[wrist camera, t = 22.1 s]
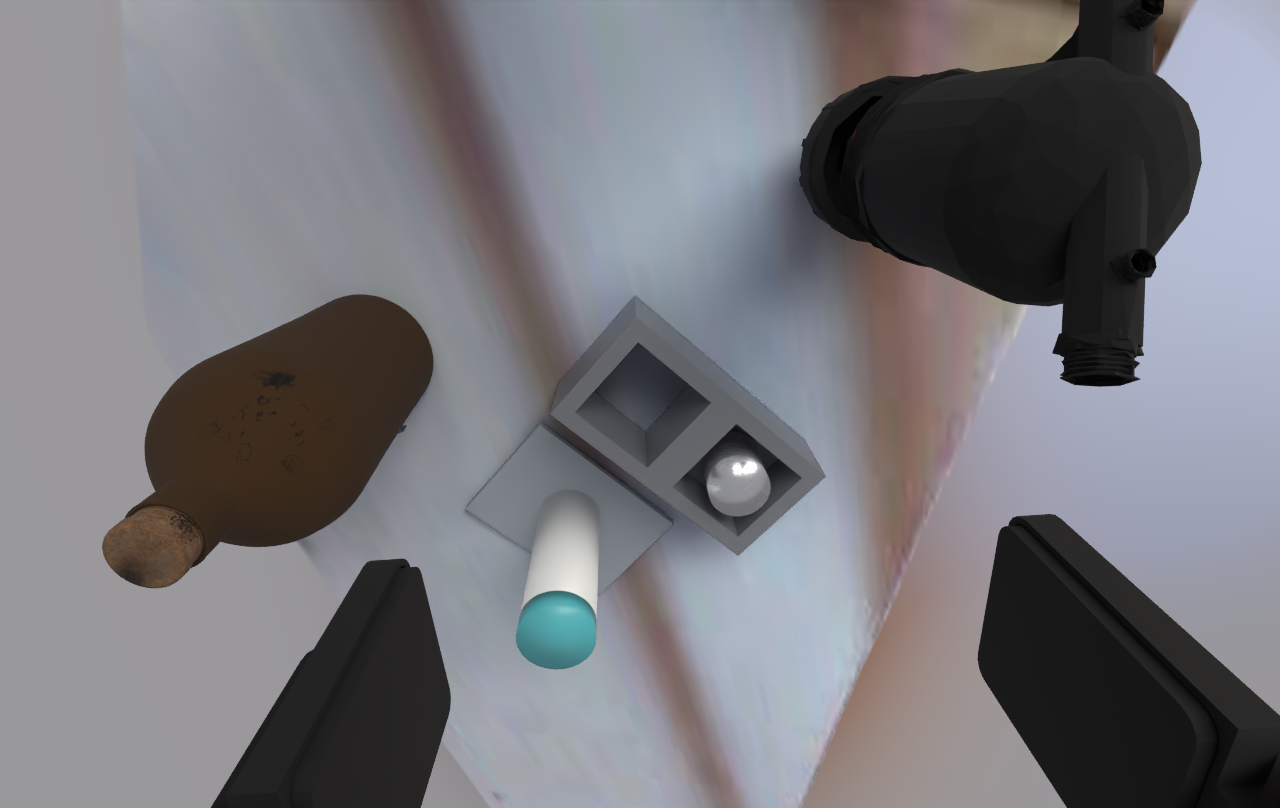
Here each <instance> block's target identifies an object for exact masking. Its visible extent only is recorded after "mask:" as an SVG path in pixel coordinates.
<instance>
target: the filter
mask: <svg viewBox="0 0 1280 808" xmlns="http://www.w3.org/2000/svg"><path fill="white" fill-rule="evenodd" d="M1163 7H1164V0H1080V11H1079V25H1078V27H1077V28H1076V30H1075V32H1074V34H1073V36H1072V37H1071V38H1070V39H1069V40H1068V41H1067V42H1066V43H1065V44H1064V45H1063V46H1062V47H1061V48H1060V49H1059V50H1058V51H1057V52H1056V53H1055V54H1054V55H1053V56H1052V57H1051V58H1050V59H1048V60H1047V61H1046V62H1043V63H1036V64H1029V65H1023V66H1016V67H1009V68H1002V69H996V70H989V71H982V72H974V71H969V70H965V69H960V68H958V69H951V70H948V71H944V72H940V73H937V74H930V75H921V76H919V77H904V76H887V77H884V78H881V79H878V80H875V81H872V82H869V83H866V84H863V85H860V86H859V87H857V88H855V89H853V90H851V91H849V92H846V93H844V94H842V95H840V96H839V97H838V98H836V99H835V100H834V101H833V102H831V103H828V104H827V105H826V106H825V107H824V108H823V109H822V112H821V114H820V115H819V116H818V118H817V119H816V121H815V122H814V123H813V125H812V127H811V129H810V131H809V133H808V135H807V138H806V139H803V142H802V147H803V151H802V158H801V164H800V170H801V176H800V178H799V181H800V185H801V187H803V191H804V193H805V195H806V197H807V199H808V201H809V203H810V205H811V207H812V209H813V212H814V213H815V214H816V215H817V216H818V217H819V218H820V219H822V220H824V221H825V222H826V223H827V224H829V225H830V226H831V227H832V228H833V229H835V230H836V231H838V232H840V233H842V234H843V235H845V236H847V237H849V238H850V239H854V240H857V241H863V242H868V243H871V244H872V245H873V246H874V247H877V248H880V249H882V250H883V251H884V252H886V253H889V254H891V255H893V256H895V257H896V258H898V259H900V260H903V261H906V262H909V263H912V264H915V265H918V266H924V267H930V268H933V269H935V270H938V271H940V272H942V273H944V274H946V275H949V276H951V277H953V278H955V279H957V280H960V281H962V282H964V283H966V284H968V285H971V286H973V287H975V288H977V289H979V290H982V291H984V292H986V293H988V294H990V295H993V296H995V297H997V298H999V299H1001V300H1004V301H1007V302H1011V303H1015V304H1024V305H1038V306H1053V305H1058V304H1063V317H1062V334H1059V335H1058V338H1057V341H1056V344H1055V347H1054V350H1053V354H1058V355H1060V356H1062V357H1064V360H1063V361H1062V363H1063V365H1064V372H1063V373H1062V374H1061V376H1063V377H1060V379H1062V380H1065V381H1067V382H1069V383H1071V384H1074V385H1083V386H1099V387H1100V386H1121V385H1124V384H1127V383H1130V382H1133V381H1137V380H1140V379H1139V378H1137V377H1135V376H1134V369H1135V368H1136V367H1137V366H1138V364H1140V363H1138V362H1137V361H1135V360H1134V358H1135V357H1136V356H1143V355H1144V354H1143V351H1142V349H1141V347H1143V327H1144V298H1145V278H1146V277H1147V278H1148V277H1151V276H1152V274H1153V272H1154V271H1155V269H1156V261H1155V256H1156V254H1157V253H1158V252H1159V251H1160V249H1161V248H1162V247H1163V245H1164V244H1165V243H1166V241H1167V240H1168V239H1169V237H1170V236H1171V235H1172V233H1173V232H1174V231H1175V230H1176V228H1177V227H1178V226H1179V225H1180V223H1181V222H1182V221H1183V220H1184V218H1185V217H1186V216H1187V214H1188V213H1189V209H1190V205H1191V201H1192V198H1193V194H1194V190H1195V186H1196V183H1197V179H1198V175H1199V171H1200V167H1201V164H1202V162H1201V151H1200V138H1199V130H1198V127H1197V125H1196V122H1195V120H1194V117H1193V115H1192V112H1191V109H1190V107H1189V104H1188V103H1187V102H1186V101H1185V100H1184V99H1183V98H1182V97H1181V96H1180V95H1179V94H1178V93H1177V92H1176V91H1175V90H1174V89H1173V88H1172V87H1171V86H1170V85H1169V84H1168V83H1166V81H1165V80H1163V79H1162V78H1160V77H1159V76H1157V75H1156V74H1154V73H1153V45H1154V22H1155V21H1156V20H1157V19H1158V17H1159V16H1160V15H1161V14H1163Z"/></svg>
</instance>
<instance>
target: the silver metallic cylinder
mask: <svg viewBox="0 0 1280 808" xmlns="http://www.w3.org/2000/svg"><path fill="white" fill-rule="evenodd" d="M701 463H702V468H703V472H704V477H705V481H706V486H707V490H708V495H709V499H710V501H711V503H712V504H713V506H714V507H715V508H716V509H717V510H718V511H720V512H722V513H724V514H726V515H730V516H745V515H749V514H751V513H753V512H755V511H757V510H758V509H760V508H761V507H762V506H763V505H764V504H765V502H766V501H767V499H768V497H769V495H770V489H771V486H770V480H769V478H768V475H767V473H766V470H765V468H764V465H763V463H762V460H761V458H760V455H759V453H758V450H757V448H756V446H755V444H754V442H753V441H752V440H751V439H750V438H749V437H748V436H747V435H745V434H743V433H740V432H736V431H729V432H728V433H727V434H726V435H725V436H724V437H723V438H722V439H721V440H720V441H719V442H718V443H716V444H715V445H714V446H713V447H712V448H711V449H710V450H709V451H708V452H707V453H706V454H705V455H704V456H703V457H702V458H701Z"/></svg>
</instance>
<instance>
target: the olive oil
mask: <svg viewBox="0 0 1280 808" xmlns="http://www.w3.org/2000/svg"><path fill="white" fill-rule="evenodd" d="M432 371H433V354H432V349H431V346H430V343H429V340H428V338H427V336H426V334H425V332H424V330H423V329H422V327H421V326H420V325H419V323H418V322H417V321H416V320H415V319H414V318H413V317H412V316H411V315H410V314H409V313H408V312H407V311H405V310H404V309H403V308H401V307H400V306H398V305H396V304H394V303H392V302H390V301H388V300H386V299H383V298H380V297H376V296H370V295H350V296H345V297H341V298H338V299H335V300H333V301H331V302H329V303H327V304H325V305H323V306H321V307H319V308H317V309H315V310H313V311H311V312H309V313H307V314H305V315H303V316H301V317H299V318H297V319H295V320H293V321H290V322H288V323H286V324H284V325H282V326H280V327H277V328H275V329H273V330H271V331H269V332H267V333H264V334H262V335H260V336H258V337H256V338H253V339H251V340H249V341H247V342H244V343H242V344H240V345H238V346H235V347H233V348H231V349H228V350H226V351H224V352H222V353H219V354H217V355H215V356H213V357H210V358H208V359H206V360H204V361H203V362H201V363H199V364H197V365H196V366H194V367H193V368H191V369H190V370H188V371H187V372H186V373H184V374H183V375H182V376H181V377H180V378H179V379H178V380H177V381H176V382H175V383H174V384H173V385H172V386H171V387H170V388H169V390H168V391H167V393H166V394H165V395H164V397H163V398H162V399H161V401H160V402H159V404H158V406H157V407H156V409H155V411H154V413H153V415H152V417H151V419H150V422H149V425H148V428H147V433H146V437H145V461H146V466H147V470H148V474H149V477H150V480H151V482H152V485H153V487H154V489H155V491H156V492H154V493H153V494H152V495H150V496H149V497H147V498H146V499H145V500H143V501H142V502H141V503H139V504H138V505H136V506H135V507H133V508H132V509H131V510H130V511H129V512H128V514H127V515H126V517H125V519H123V520H122V521H121V522H119V523H118V524H117V525H115V526H114V527H113V528H112V529H111V530H109V532H108V533H107V534H106V536H105V537H104V541H103V545H102V549H103V554H104V557H105V559H106V561H107V563H108V564H109V566H110V567H111V568H112V569H113V570H114V572H116V573H117V574H118V575H119V576H120V577H122V578H124V579H125V580H127V581H129V582H131V583H133V584H135V585H138V586H142V587H147V588H163V587H167V586H170V585H172V584H174V583H176V582H177V581H178V580H179V579H181V578H182V577H183V576H184V575H185V574H186V573H187V572H188V571H189V569H190V568H192V567H194V566H196V565H198V564H199V563H201V562H202V561H203V560H204V559H205V557H206V556H207V555H208V554H209V553H210V552H211V551H212V550H213V549H214V548H215V547H216V546H217V545H218V543H219V542H224V543H228V544H233V545H239V546H248V547H267V546H277V545H282V544H287V543H291V542H294V541H297V540H300V539H302V538H305V537H307V536H309V535H311V534H313V533H315V532H317V531H319V530H321V529H322V528H324V527H326V526H327V525H329V524H330V523H332V522H333V521H335V520H336V519H337V518H339V517H340V516H341V515H342V514H343V513H345V512H346V511H347V510H348V509H349V508H350V507H351V505H352V504H353V503H354V502H355V501H356V499H357V498H358V497H359V495H360V494H361V492H362V491H363V489H364V487H365V486H366V484H367V482H368V481H369V479H370V477H371V476H372V474H373V472H374V471H375V469H376V467H377V466H378V464H379V462H380V461H381V459H382V457H383V456H384V454H385V452H386V451H387V449H388V448H389V446H390V444H391V443H392V441H393V440H394V438H395V436H396V435H397V434H398V433H400V432H403V431H404V429H405V428H406V426H407V425H406V426H405V425H404V427H403V426H402V425H403V423H404V422H405V420H406V419H407V417H408V416H409V414H410V413H411V411H412V410H413V408H414V407H415V405H416V404H417V402H418V401H419V399H420V398H421V397H422V395H423V394H424V392H425V390H426V389H427V387H428V385H429V382H430V380H431V376H432Z"/></svg>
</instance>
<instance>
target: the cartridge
mask: <svg viewBox="0 0 1280 808" xmlns="http://www.w3.org/2000/svg"><path fill="white" fill-rule="evenodd" d="M599 533H600V512H599V508H598V506H597V504H596V503H595V501H594V500H593V499H592V498H591V497H589V496H588V495H586V494H584V493H582V492H579V491H575V490H564V491H559V492H556V493H554V494H552V495H551V496H549V497H548V498H547V499H546V500H545V501H544V503H543V504H542V506H541V509H540V513H539V518H538V523H537V529H536V534H535V539H534V544H533V550H532V555H531V560H530V565H529V571H528V576H527V581H526V586H525V592H524V597H523V602H522V607H521V613H520V618H519V623H518V628H517V634H516V642H517V646H518V648H519V650H520V652H521V653H522V655H523V656H524V657H525V658H526V659H527V660H529V661H530V662H532V663H533V664H535V665H538V666H540V667H544V668H549V669H565V668H569V667H573V666H575V665H577V664H580V663H581V662H583V661H584V660H585V659H587V658H588V656H589V655H590V654H591V653H592V651H593V649H594V647H595V642H596V620H597V591H598V562H599Z"/></svg>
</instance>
